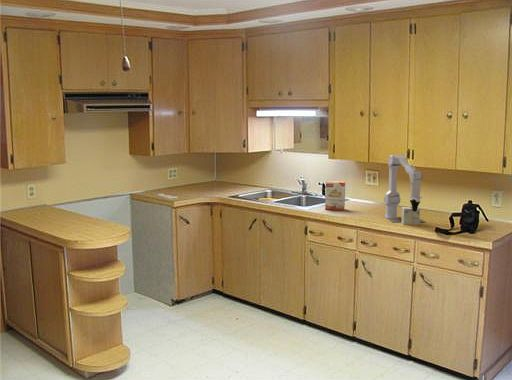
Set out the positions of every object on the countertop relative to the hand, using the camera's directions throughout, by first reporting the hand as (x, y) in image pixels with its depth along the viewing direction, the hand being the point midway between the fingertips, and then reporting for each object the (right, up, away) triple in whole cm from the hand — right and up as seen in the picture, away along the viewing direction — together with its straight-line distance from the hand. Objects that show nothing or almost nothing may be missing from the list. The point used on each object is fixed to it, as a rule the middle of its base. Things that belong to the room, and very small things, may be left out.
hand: (414, 211), depth 352 cm
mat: (0, -7, +17) cm, 19 cm away
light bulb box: (0, -9, +9) cm, 13 cm away
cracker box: (-42, -1, +58) cm, 72 cm away
